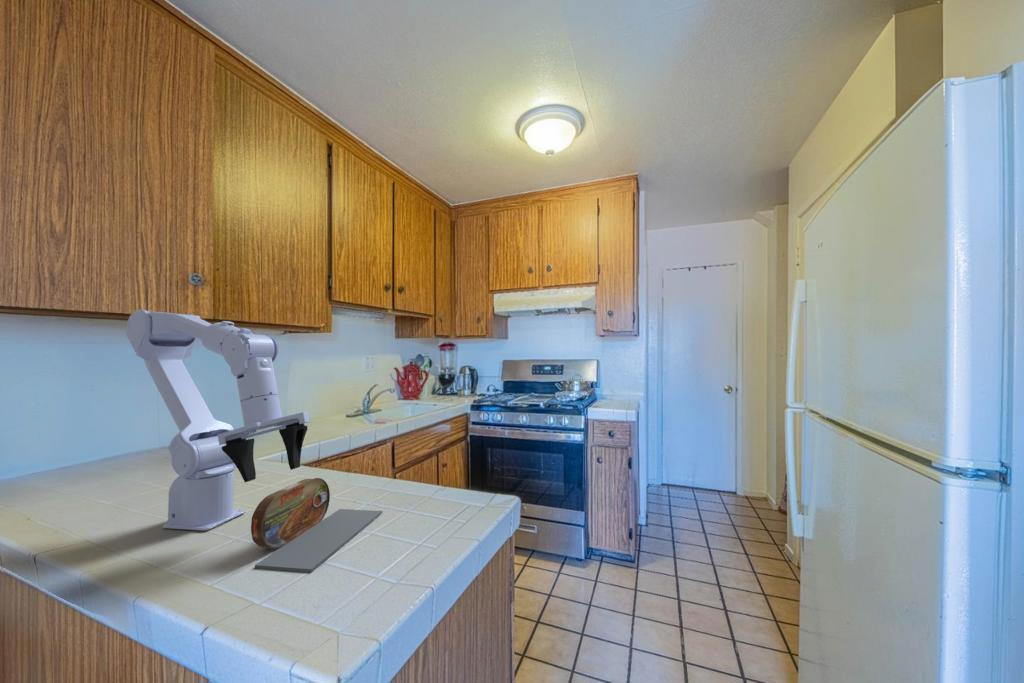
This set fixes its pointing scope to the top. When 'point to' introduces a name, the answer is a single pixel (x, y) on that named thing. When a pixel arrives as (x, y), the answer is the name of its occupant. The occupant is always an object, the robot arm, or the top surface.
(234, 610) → the top surface
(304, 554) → the rubber mat
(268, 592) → the top surface
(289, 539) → the tin
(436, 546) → the top surface
